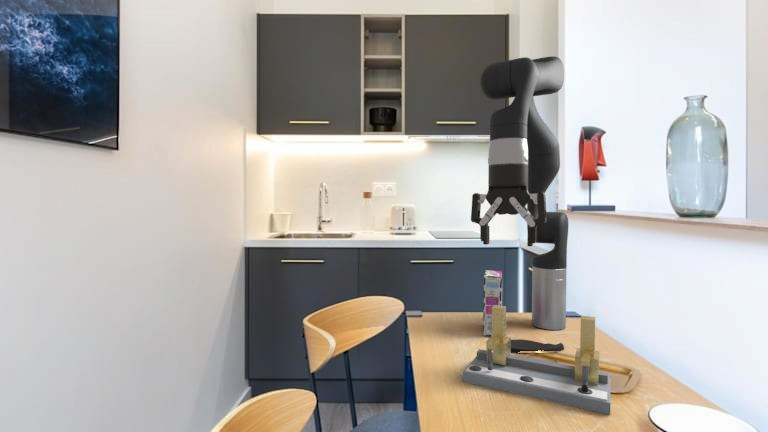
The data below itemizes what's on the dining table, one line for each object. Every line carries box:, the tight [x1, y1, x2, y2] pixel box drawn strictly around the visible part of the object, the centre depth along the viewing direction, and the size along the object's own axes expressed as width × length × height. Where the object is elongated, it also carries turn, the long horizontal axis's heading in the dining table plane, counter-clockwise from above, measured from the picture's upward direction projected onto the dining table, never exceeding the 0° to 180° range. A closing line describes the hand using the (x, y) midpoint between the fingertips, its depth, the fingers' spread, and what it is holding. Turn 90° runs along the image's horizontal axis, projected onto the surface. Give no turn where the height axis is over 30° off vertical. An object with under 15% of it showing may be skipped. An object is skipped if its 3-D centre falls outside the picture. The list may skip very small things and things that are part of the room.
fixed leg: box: [574, 315, 600, 392], centre depth 76 cm, size 10×4×12 cm, turn 151°
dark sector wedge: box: [511, 338, 565, 354], centre depth 100 cm, size 8×14×2 cm, turn 79°
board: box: [462, 349, 612, 415], centre depth 81 cm, size 12×26×4 cm, turn 61°
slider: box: [485, 305, 512, 370], centre depth 85 cm, size 10×4×11 cm, turn 151°
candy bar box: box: [482, 269, 503, 338], centre depth 113 cm, size 11×5×16 cm, turn 164°
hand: (507, 245), depth 81 cm, fingers open, 8 cm apart
